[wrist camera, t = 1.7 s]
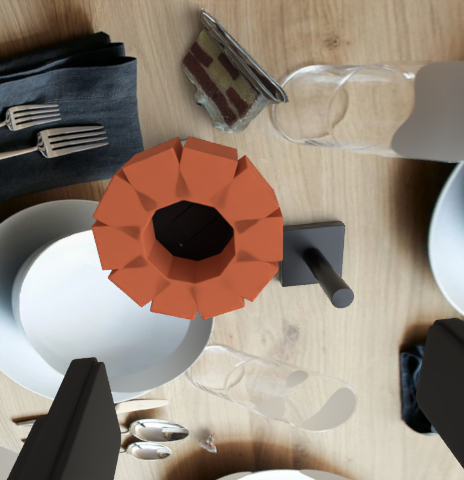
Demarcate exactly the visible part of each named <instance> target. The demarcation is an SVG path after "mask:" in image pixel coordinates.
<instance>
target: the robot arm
mask: <svg viewBox="0 0 464 480" xmlns="http://www.w3.org/2000/svg"><path fill="white" fill-rule="evenodd" d="M416 399H417V403H418V405H419V407H420V409H421V410H422V412H423V413H424V414H425V416H426V417H427V419H428V420H429V421H430V423H431V424H432V425H433V427H434V428H435V429H436V431H437V432H438V434H439V435H440V437H441V438H442V439H443V441H444V442H445V444H446V445H447V446H448V448H449V449H450V450H451V452H452V453H453V455H454V456H455V457H456V459H457V460H458V462H459V463H460V464H461V466H462V467H463V468H464V322H463V321H462V320H460V319H458V318H450V319H441V320H436V321H435V322H434V323H433V326H430V327H429V330H428V335H427V340H426V345H425V350H424V355H423V361H422V366H421V371H420V376H419V382H418V387H417V392H416ZM120 445H121V431H120V427H119V423H118V419H117V414H116V410H115V406H114V402H113V398H112V394H111V390H110V385H109V381H108V377H107V373H106V369H105V365H104V363H103V362H98V361H97V359H96V358H95V357H92V358H82V359H74V360H72V362H71V363H70V366H69V368H68V370H67V372H66V374H65V377H64V379H63V381H62V383H61V386H60V388H59V390H58V392H57V394H56V397H55V399H54V401H53V403H52V405H51V408H50V410H49V412H48V414H47V415H41V416H39V417H38V418H37V420H36V421H35V423H34V424H33V427H32V429H31V431H30V433H29V435H28V437H27V439H26V441H25V443H24V445H23V447H22V449H21V452H20V454H19V456H18V458H17V460H16V462H15V464H14V466H13V468H12V470H11V472H10V474H9V477H8V479H7V480H114V475H115V470H116V465H117V460H118V455H119V450H120Z"/></svg>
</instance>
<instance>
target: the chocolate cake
mask: <svg viewBox="0 0 464 480" xmlns="http://www.w3.org/2000/svg"><path fill="white" fill-rule="evenodd" d="M201 10H202V15H201V18H200V19H201V21H202V23H203V24H204V25H205V28H204V29H203V30H202V32H201V33H200V34H199V39H198V40H197V41H196V42H194V43H193V45H192V47H191V48H190V49H189V52H188V54H187V55H186V56H185V58H184V60H183V70H184V71H185V73H186V74H187V76H188V78H189V79H190V81H191V82H192V83H193V84H195V85H196V87H197V89H198V90H197V92H196V93H195V94H194V99H195V100H196V103H197V104H198V105H204V106H205V108H206V110H207V111H208V113H209V114H210V115H211V117H212V118H213V123H212V124H213V127H214V128H219V129H220V130H221V131H223V130H225V131H227V132H231V133H238V132H241V131H243V130H244V129H245V128H246V127H247V126H248V124H249V123H250V121H251V120H252V119H254V118H255V117H256V116H257V115H258V114H259V113H260V112H261V110H263V109H264V108H265V107H266V106H267V105H268V104H270V103H273V104H279V103H280V102H286V103H287V102H289V101H288V96H287V94H286V92H285V91H284V90H283V88H282V87H281V86H280V85H279V84H278V83H277V82H276V81H275V80H274V78H273V77H271V76H269V75H268V73H267V72H266V71H265V70H264V69H263V68H262V67H261V66H260V65H259V64H258V63H257V62H256V61H255V60H254V59H253V57H252V56H251V55H250V54H248V52H247V51H245V49H244V48H243V47H242V46H240V45H239V44H238V43H237V41H235V39H233V37H232V36H231V35H230V34H229V33H228V32H227V31H226V30H225V28H224V27H223V26H222V25H221V24H220V23H219V21H218V20H216V19H214V18H213V17H212V16H211V15H210V14H209V13H208V12H206V10H204V9H203V8H202V9H201Z"/></svg>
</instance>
